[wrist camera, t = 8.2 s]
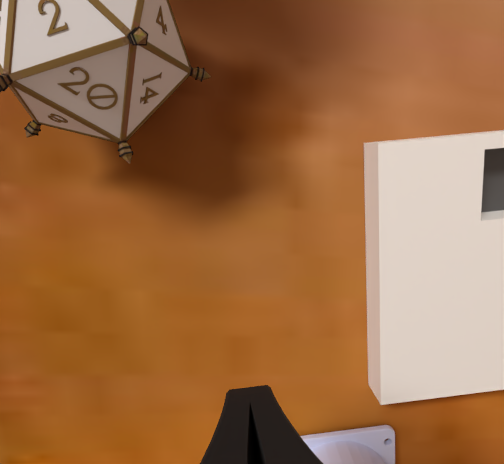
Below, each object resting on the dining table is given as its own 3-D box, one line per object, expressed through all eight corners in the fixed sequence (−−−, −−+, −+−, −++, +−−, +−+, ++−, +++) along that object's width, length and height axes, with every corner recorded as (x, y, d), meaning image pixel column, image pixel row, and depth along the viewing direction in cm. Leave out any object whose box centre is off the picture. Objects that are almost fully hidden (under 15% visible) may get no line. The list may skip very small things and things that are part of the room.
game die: (166, 68, 23) (286, 69, 16) (63, 173, 21) (148, 226, 14) (40, -108, 17) (142, -234, 10) (-122, 16, 15) (-139, -31, 8)
